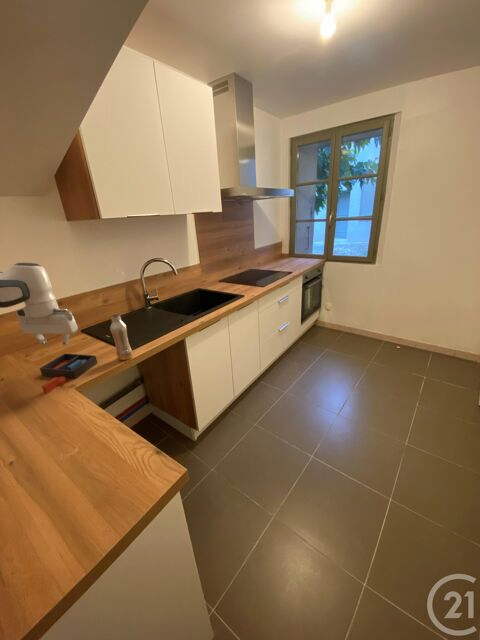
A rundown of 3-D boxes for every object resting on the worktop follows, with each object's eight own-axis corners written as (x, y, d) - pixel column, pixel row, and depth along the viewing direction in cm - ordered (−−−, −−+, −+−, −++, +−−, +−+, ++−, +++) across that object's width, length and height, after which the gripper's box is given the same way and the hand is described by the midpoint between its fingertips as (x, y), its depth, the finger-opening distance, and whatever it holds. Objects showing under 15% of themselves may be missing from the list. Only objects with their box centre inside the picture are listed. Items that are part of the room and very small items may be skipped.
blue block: (74, 373, 104) (72, 367, 103) (66, 373, 105) (64, 366, 103) (90, 363, 111) (88, 356, 110) (82, 362, 112) (80, 356, 111)
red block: (50, 393, 93) (47, 386, 92) (41, 392, 94) (38, 385, 93) (68, 380, 101) (66, 373, 100) (60, 379, 102) (58, 373, 101)
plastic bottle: (122, 363, 111) (111, 319, 104) (115, 358, 115) (104, 316, 108) (136, 357, 115) (126, 315, 108) (129, 353, 120) (119, 312, 112)
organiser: (42, 375, 105) (39, 368, 104) (67, 360, 116) (64, 353, 115) (75, 379, 102) (72, 371, 100) (97, 362, 113) (95, 355, 111)
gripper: (76, 305, 93) (86, 340, 99) (26, 305, 97) (39, 339, 102) (62, 311, 88) (74, 348, 93) (10, 311, 91) (24, 347, 96)
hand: (55, 343), depth 97 cm, fingers open, 8 cm apart
